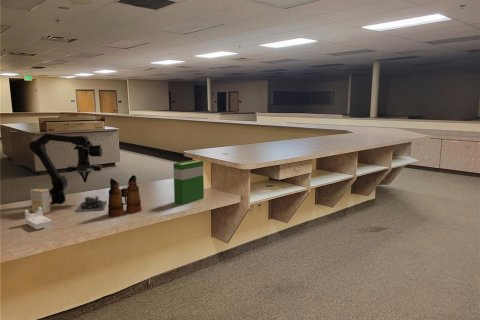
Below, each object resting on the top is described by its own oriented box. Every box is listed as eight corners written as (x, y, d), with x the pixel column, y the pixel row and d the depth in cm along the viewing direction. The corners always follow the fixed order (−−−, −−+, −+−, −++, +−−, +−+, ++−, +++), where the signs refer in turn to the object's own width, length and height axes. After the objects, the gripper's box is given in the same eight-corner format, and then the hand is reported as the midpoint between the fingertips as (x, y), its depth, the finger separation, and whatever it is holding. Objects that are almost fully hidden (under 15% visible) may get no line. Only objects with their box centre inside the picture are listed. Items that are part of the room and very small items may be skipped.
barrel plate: (76, 211, 186) (76, 207, 185) (81, 204, 199) (81, 200, 199) (103, 210, 189) (103, 205, 189) (106, 202, 202) (106, 198, 202)
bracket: (26, 224, 167) (24, 210, 166) (41, 221, 172) (40, 206, 171) (36, 231, 159) (34, 216, 157) (52, 227, 164) (50, 212, 163)
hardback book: (195, 196, 218) (194, 159, 214) (203, 198, 214) (203, 160, 209) (174, 202, 204) (173, 163, 200) (182, 204, 200) (182, 165, 196)
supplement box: (51, 212, 185) (49, 189, 183) (43, 214, 180) (41, 191, 178) (39, 210, 188) (37, 187, 185) (32, 213, 183) (29, 189, 181)
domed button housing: (84, 207, 190) (84, 198, 189) (86, 204, 196) (85, 195, 195) (97, 206, 192) (97, 197, 191) (99, 203, 197) (98, 195, 196)
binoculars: (111, 218, 176) (108, 180, 173) (105, 214, 183) (103, 178, 179) (144, 211, 188) (142, 176, 185) (138, 207, 194) (136, 173, 191)
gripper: (62, 159, 189) (64, 186, 192) (98, 158, 194) (100, 184, 197) (67, 156, 200) (69, 182, 203) (101, 155, 205) (102, 180, 207)
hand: (85, 182), depth 202 cm, fingers closed
